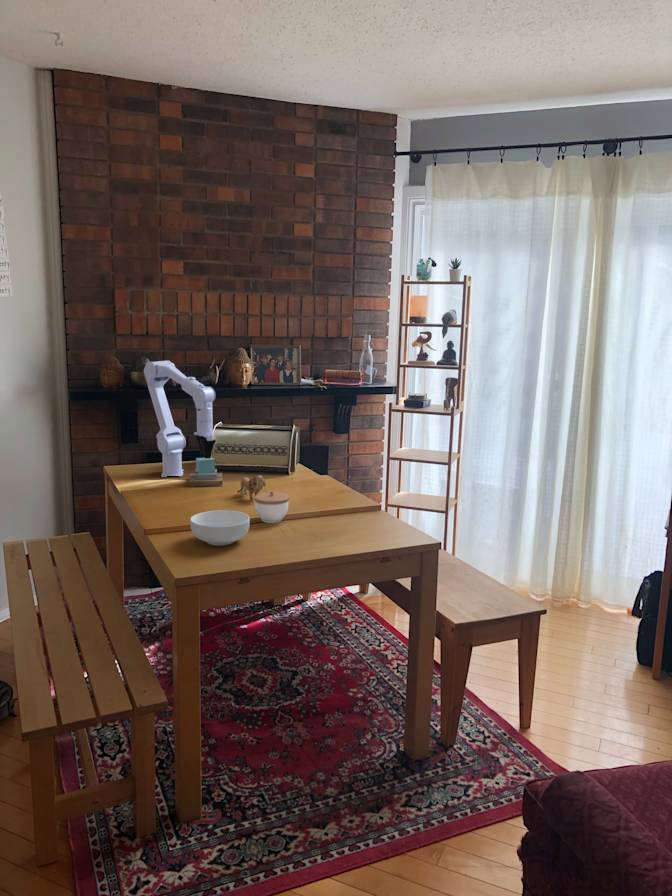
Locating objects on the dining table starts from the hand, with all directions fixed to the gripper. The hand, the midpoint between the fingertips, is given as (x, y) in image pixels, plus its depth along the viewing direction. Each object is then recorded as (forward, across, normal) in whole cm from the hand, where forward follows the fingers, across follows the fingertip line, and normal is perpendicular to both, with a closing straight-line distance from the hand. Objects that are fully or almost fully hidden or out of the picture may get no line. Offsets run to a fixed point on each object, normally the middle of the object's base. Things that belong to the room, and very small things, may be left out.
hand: (205, 456), depth 274 cm
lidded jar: (+10, +53, +8) cm, 54 cm away
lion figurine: (+10, +26, +9) cm, 30 cm away
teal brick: (+6, 0, 0) cm, 6 cm away
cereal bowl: (+10, +66, -12) cm, 68 cm away
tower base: (+10, 0, 0) cm, 10 cm away
